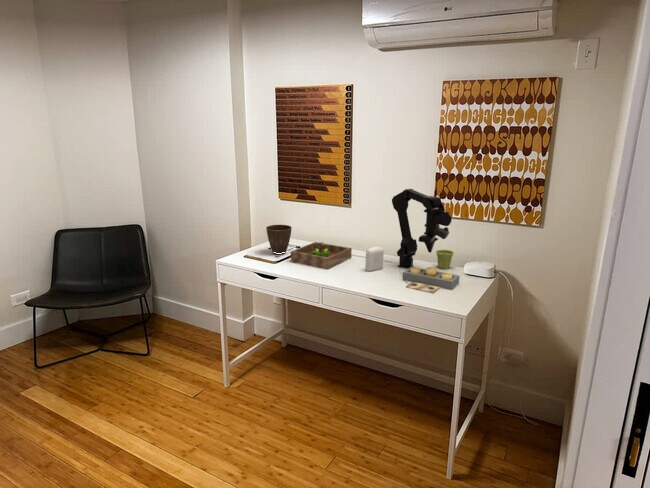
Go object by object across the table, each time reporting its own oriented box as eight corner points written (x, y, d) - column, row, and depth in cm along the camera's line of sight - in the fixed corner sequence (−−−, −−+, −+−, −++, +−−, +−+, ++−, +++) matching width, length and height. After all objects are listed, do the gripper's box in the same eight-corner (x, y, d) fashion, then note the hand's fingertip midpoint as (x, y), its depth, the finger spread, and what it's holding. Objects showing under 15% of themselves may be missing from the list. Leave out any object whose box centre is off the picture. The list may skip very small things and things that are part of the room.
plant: (307, 267, 249) (307, 247, 246) (300, 257, 267) (300, 238, 264) (342, 264, 253) (343, 244, 251) (333, 254, 272) (333, 236, 269)
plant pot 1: (295, 251, 277) (295, 225, 273) (286, 258, 264) (285, 231, 259) (273, 249, 282) (272, 223, 278) (262, 255, 268) (261, 229, 264)
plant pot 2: (440, 270, 242) (441, 255, 240) (431, 265, 251) (432, 250, 249) (455, 269, 245) (457, 253, 242) (446, 264, 253) (448, 249, 251)
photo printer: (378, 266, 248) (379, 244, 245) (384, 268, 245) (385, 246, 242) (364, 270, 243) (364, 247, 240) (369, 272, 239) (369, 249, 236)
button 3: (439, 283, 220) (440, 275, 219) (443, 280, 225) (443, 272, 224) (449, 285, 218) (450, 277, 217) (453, 282, 222) (453, 274, 221)
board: (402, 280, 228) (402, 272, 227) (410, 274, 237) (411, 266, 236) (451, 289, 215) (452, 281, 214) (458, 283, 224) (459, 275, 223)
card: (405, 287, 217) (405, 285, 217) (412, 282, 224) (412, 281, 224) (433, 293, 210) (434, 291, 210) (439, 288, 217) (439, 286, 216)
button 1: (408, 277, 229) (409, 269, 228) (412, 274, 233) (412, 267, 232) (418, 279, 226) (418, 271, 225) (421, 276, 230) (422, 269, 229)
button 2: (424, 277, 224) (424, 269, 223) (427, 274, 228) (428, 266, 227) (433, 279, 222) (434, 271, 221) (437, 276, 226) (437, 268, 225)
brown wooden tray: (290, 261, 257) (290, 251, 255) (315, 251, 277) (315, 241, 275) (328, 269, 244) (328, 258, 242) (351, 258, 264) (351, 248, 262)
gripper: (441, 227, 215) (439, 259, 219) (453, 220, 230) (451, 250, 234) (419, 225, 221) (417, 255, 225) (432, 218, 236) (430, 247, 240)
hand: (429, 252), depth 231 cm, fingers closed
